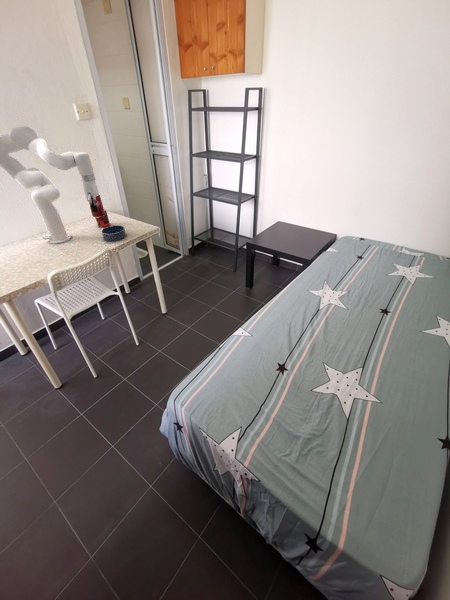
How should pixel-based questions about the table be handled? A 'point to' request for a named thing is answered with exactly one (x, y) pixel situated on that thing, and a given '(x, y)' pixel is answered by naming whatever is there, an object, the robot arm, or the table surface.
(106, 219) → the canned food
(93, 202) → the robot arm
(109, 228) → the dark blue bowl
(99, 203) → the soda can
